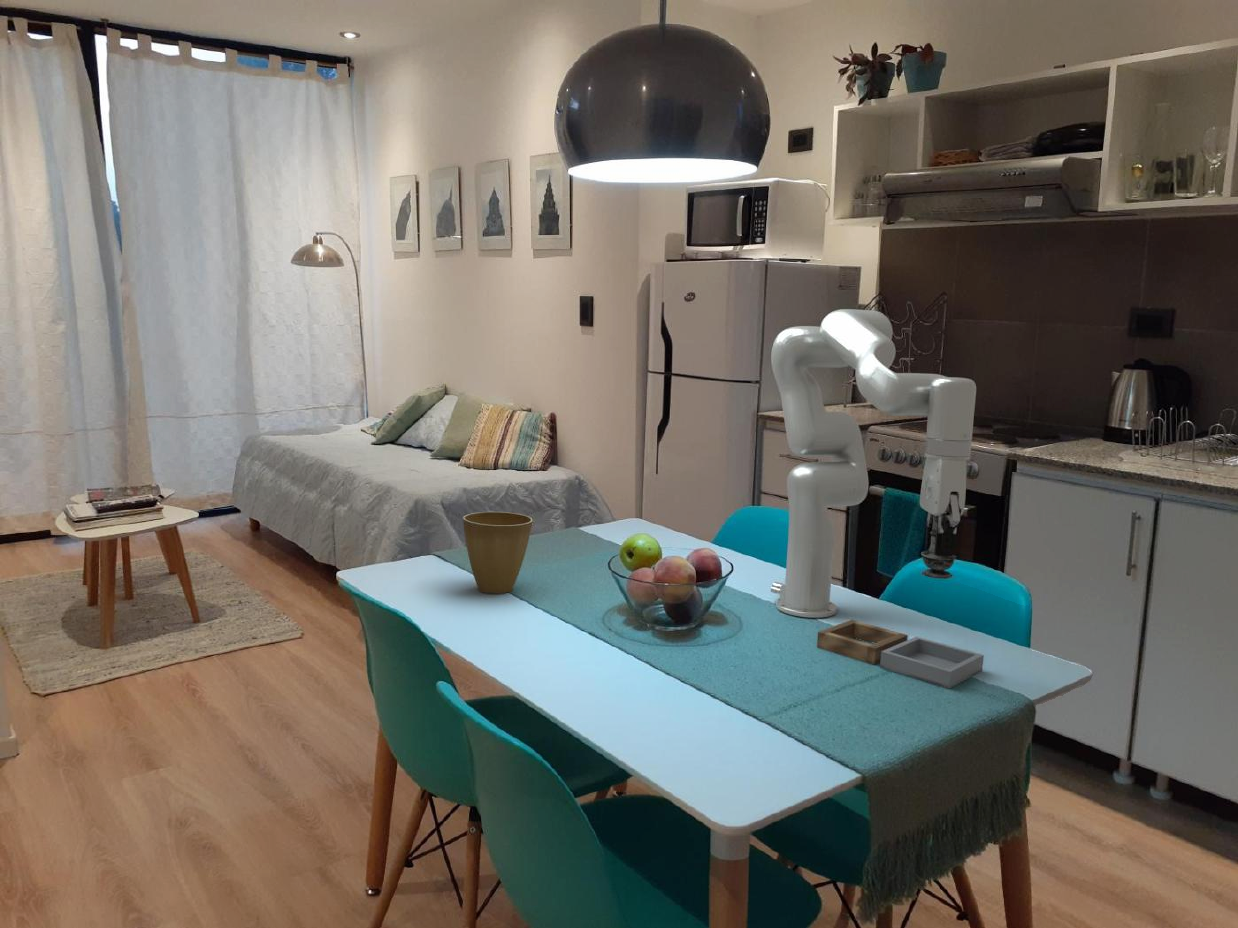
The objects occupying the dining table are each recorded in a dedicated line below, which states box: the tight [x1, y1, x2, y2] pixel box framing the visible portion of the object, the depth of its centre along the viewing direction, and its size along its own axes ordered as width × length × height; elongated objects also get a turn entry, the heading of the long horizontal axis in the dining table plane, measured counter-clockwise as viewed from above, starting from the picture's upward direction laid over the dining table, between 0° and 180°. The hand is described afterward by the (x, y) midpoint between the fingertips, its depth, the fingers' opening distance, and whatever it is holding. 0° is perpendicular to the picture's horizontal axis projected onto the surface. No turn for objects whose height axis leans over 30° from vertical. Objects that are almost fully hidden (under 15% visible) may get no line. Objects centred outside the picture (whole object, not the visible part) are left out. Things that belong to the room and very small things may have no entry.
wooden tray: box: [816, 619, 909, 665], centre depth 184 cm, size 12×12×3 cm
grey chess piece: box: [920, 513, 957, 580], centre depth 171 cm, size 6×6×12 cm
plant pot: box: [462, 511, 533, 595], centre depth 212 cm, size 15×15×16 cm
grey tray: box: [879, 636, 985, 689], centre depth 174 cm, size 13×13×3 cm
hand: (939, 551), depth 171 cm, fingers closed on grey chess piece, 4 cm apart
